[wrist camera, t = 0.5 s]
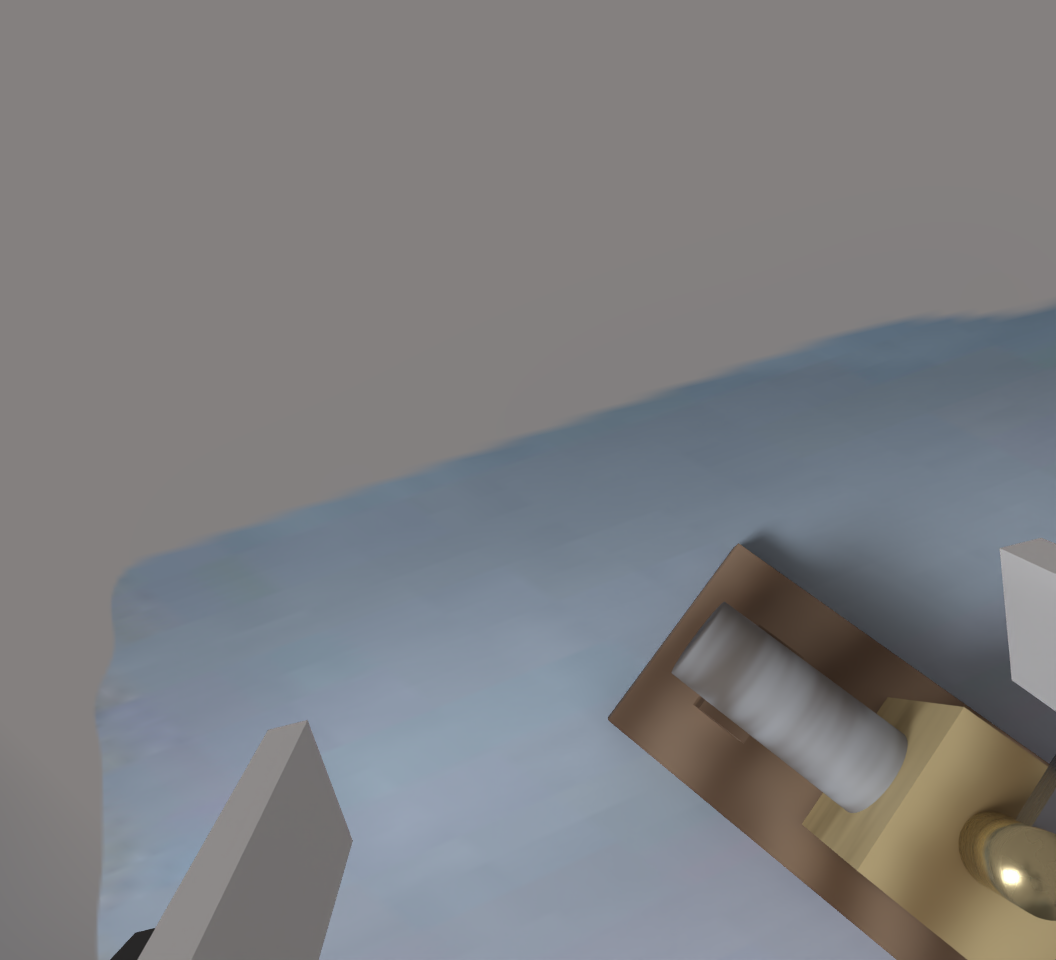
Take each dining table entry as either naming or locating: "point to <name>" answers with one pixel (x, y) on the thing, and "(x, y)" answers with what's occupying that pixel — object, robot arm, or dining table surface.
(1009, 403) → the dining table surface
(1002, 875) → the valve lever
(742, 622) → the pipe rig
